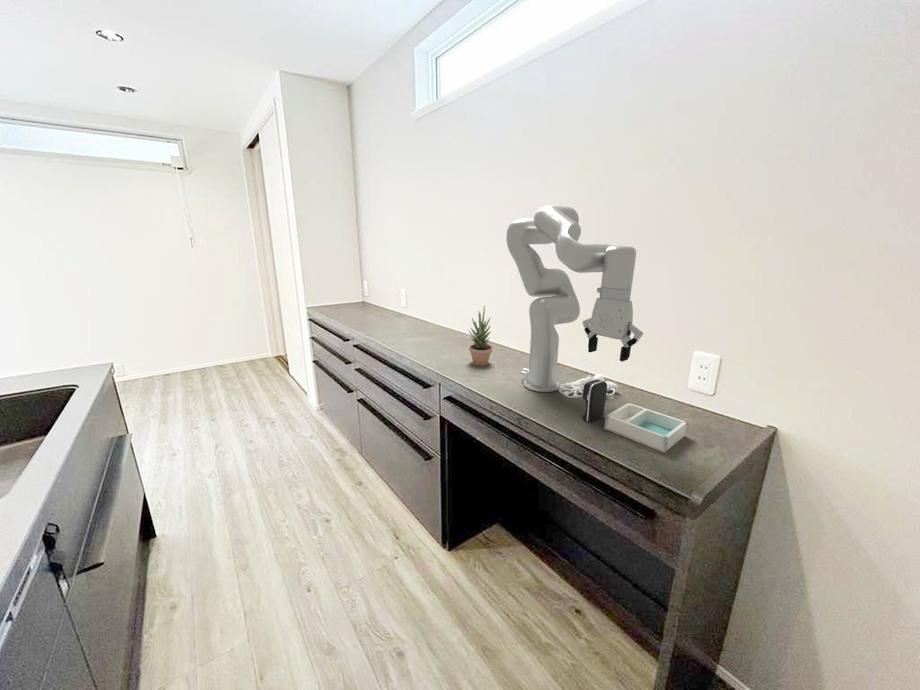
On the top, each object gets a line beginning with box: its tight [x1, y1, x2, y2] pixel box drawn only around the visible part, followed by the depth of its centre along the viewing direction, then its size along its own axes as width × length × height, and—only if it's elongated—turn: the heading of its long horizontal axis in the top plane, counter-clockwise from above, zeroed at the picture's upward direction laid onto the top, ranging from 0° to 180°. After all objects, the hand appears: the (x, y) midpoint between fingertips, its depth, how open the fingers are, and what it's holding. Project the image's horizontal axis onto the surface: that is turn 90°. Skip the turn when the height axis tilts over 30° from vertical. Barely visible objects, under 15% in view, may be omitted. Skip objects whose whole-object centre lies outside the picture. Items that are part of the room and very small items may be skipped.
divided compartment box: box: [603, 402, 688, 453], centre depth 104 cm, size 16×13×4 cm
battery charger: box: [581, 379, 608, 423], centre depth 111 cm, size 7×4×11 cm, turn 124°
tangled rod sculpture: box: [558, 373, 619, 399], centre depth 131 cm, size 19×14×4 cm
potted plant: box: [468, 304, 493, 367], centre depth 157 cm, size 10×10×25 cm
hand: (607, 355), depth 107 cm, fingers open, 9 cm apart
